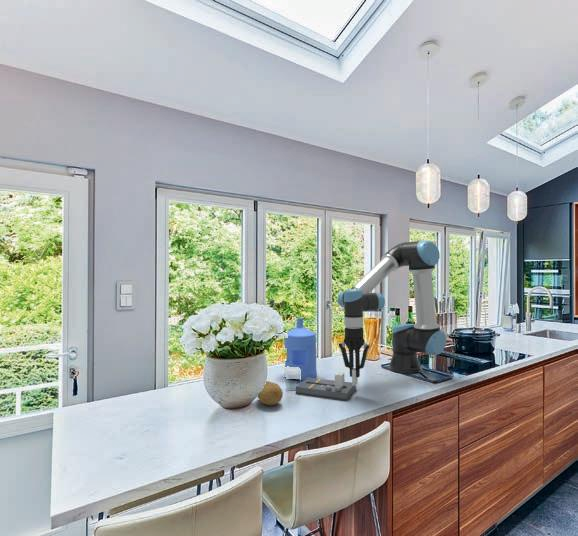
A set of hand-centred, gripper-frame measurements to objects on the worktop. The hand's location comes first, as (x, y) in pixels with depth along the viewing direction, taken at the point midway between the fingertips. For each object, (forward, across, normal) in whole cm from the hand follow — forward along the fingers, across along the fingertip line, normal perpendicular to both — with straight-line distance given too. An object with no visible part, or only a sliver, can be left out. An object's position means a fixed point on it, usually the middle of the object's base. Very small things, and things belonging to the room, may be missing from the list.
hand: (354, 384), depth 147 cm
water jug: (+5, +32, -17) cm, 36 cm away
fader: (+3, +6, 0) cm, 7 cm away
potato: (+5, +28, +21) cm, 36 cm away
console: (+5, +12, 0) cm, 13 cm away
